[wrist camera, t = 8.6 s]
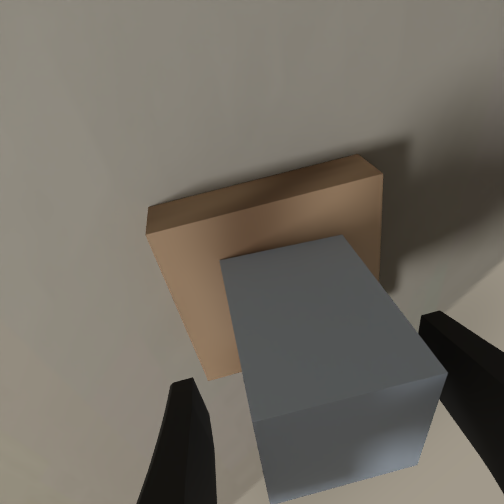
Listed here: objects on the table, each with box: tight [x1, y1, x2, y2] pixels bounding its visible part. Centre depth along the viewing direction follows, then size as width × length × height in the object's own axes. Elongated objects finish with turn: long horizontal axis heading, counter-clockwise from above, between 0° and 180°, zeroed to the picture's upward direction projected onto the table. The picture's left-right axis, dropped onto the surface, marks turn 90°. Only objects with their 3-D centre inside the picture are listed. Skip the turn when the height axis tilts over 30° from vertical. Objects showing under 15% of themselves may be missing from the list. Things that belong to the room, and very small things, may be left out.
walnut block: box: [146, 154, 383, 381], centre depth 15 cm, size 8×8×2 cm
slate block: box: [219, 235, 448, 504], centre depth 12 cm, size 4×4×6 cm
